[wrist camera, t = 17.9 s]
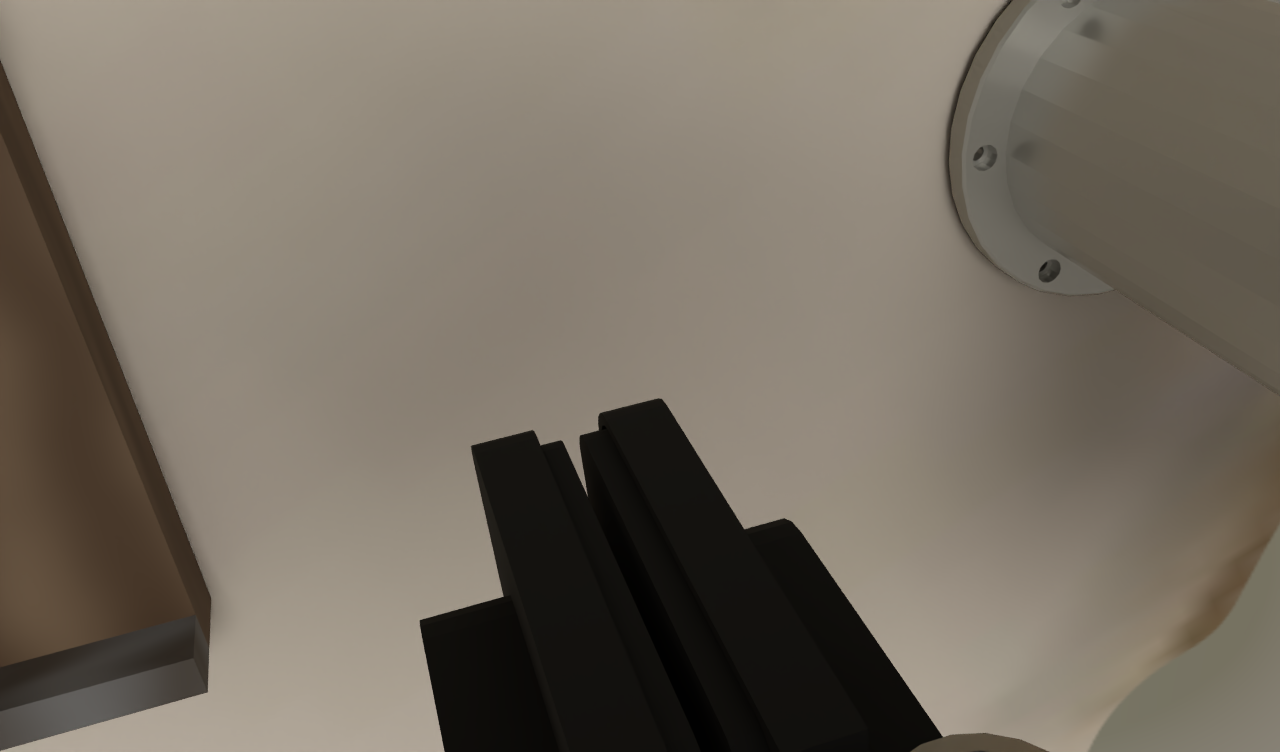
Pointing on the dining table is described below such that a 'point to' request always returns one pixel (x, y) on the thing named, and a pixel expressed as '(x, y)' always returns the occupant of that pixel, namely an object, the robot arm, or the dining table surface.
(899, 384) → the dining table surface
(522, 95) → the dining table surface
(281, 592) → the dining table surface
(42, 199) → the tray
